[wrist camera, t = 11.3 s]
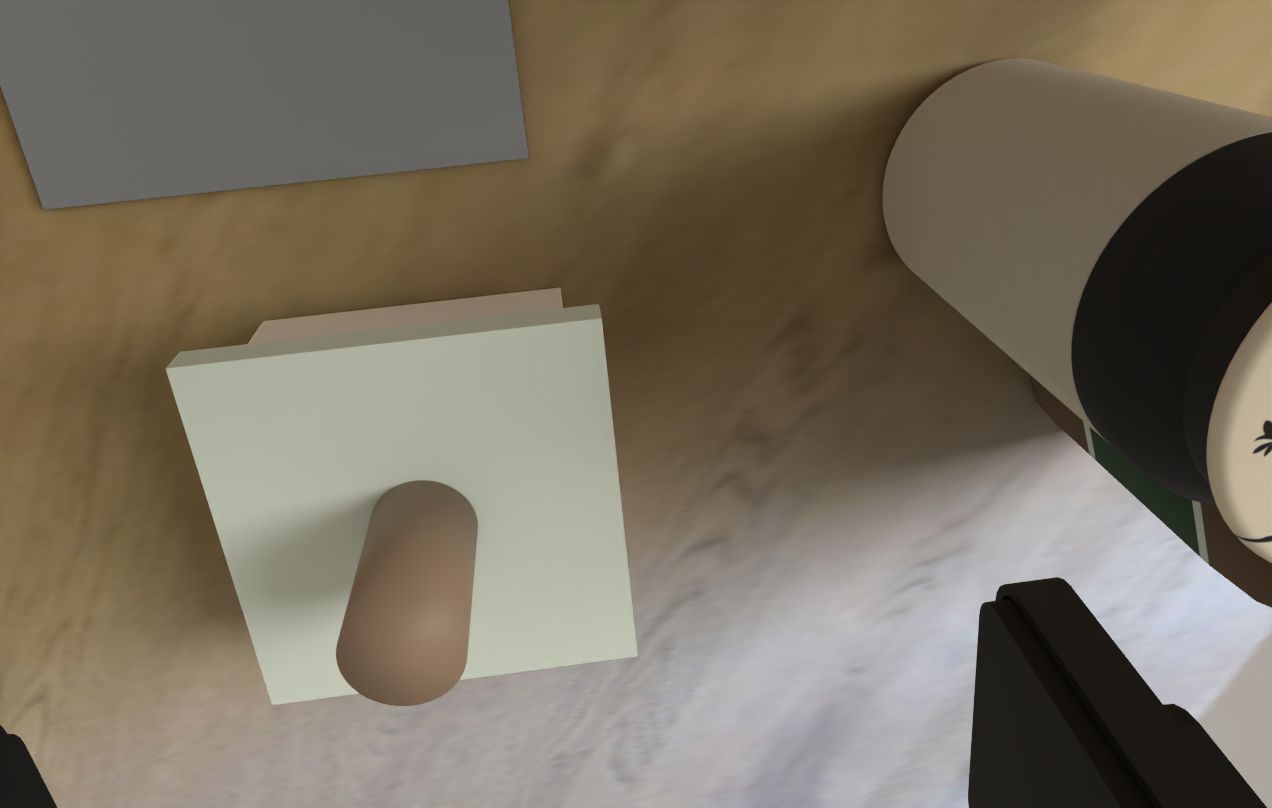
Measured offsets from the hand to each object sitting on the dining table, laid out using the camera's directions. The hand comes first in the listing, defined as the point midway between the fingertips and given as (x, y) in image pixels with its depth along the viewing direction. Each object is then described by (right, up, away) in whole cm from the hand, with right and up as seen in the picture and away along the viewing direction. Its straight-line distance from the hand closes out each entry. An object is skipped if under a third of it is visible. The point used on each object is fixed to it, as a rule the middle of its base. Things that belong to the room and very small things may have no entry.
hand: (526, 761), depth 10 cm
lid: (-5, 0, +21) cm, 22 cm away
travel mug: (+13, +11, +24) cm, 30 cm away
